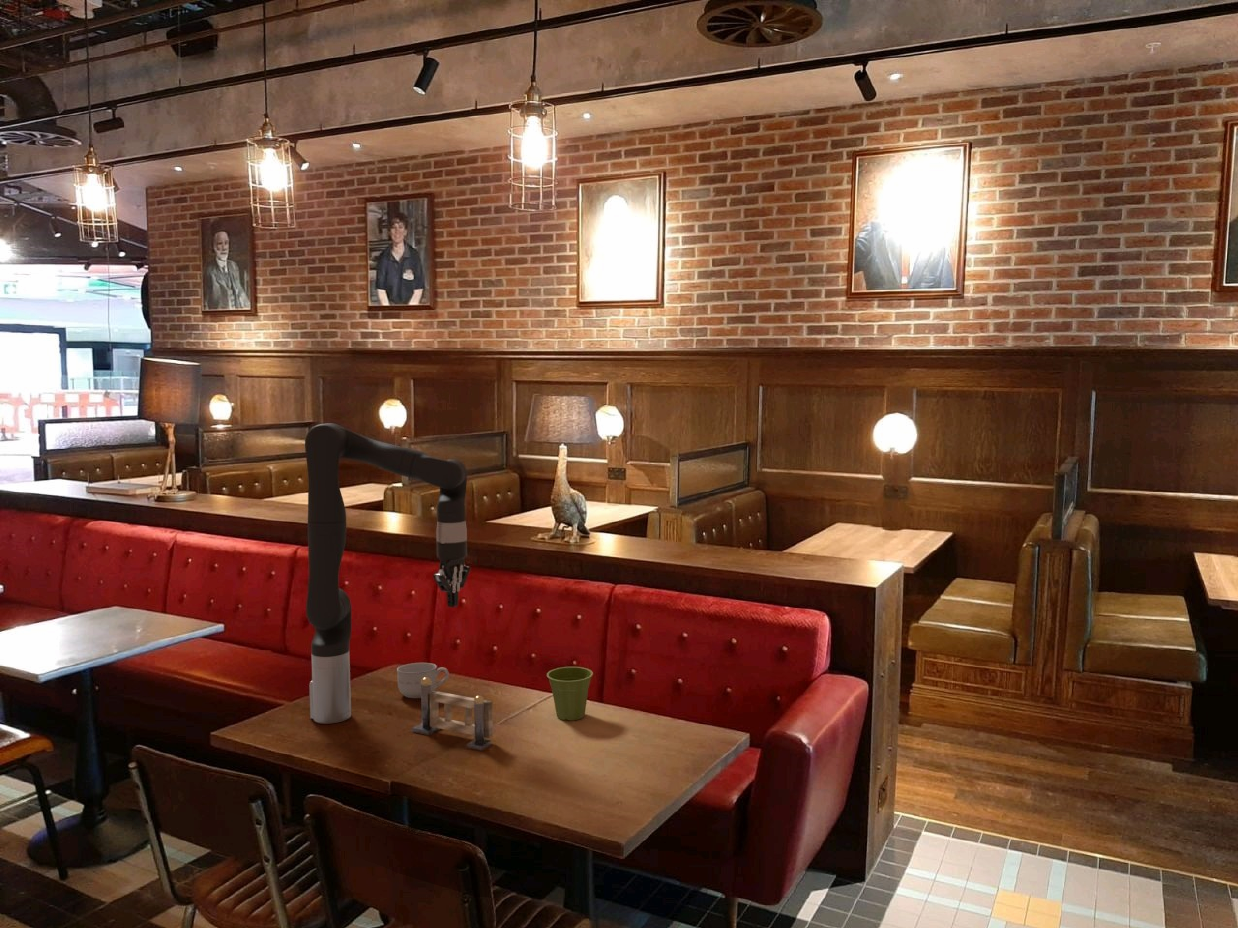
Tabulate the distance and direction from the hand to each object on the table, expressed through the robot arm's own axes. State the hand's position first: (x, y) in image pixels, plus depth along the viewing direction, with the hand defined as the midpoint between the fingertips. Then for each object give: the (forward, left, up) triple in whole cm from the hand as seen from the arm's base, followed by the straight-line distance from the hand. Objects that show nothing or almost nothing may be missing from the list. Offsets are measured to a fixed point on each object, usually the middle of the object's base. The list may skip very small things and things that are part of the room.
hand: (452, 606), depth 233 cm
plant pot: (+26, +14, -29) cm, 42 cm away
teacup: (-18, +10, -29) cm, 36 cm away
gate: (+9, -10, -28) cm, 31 cm away
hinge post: (-1, -10, -29) cm, 31 cm away
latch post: (+17, -13, -29) cm, 36 cm away
